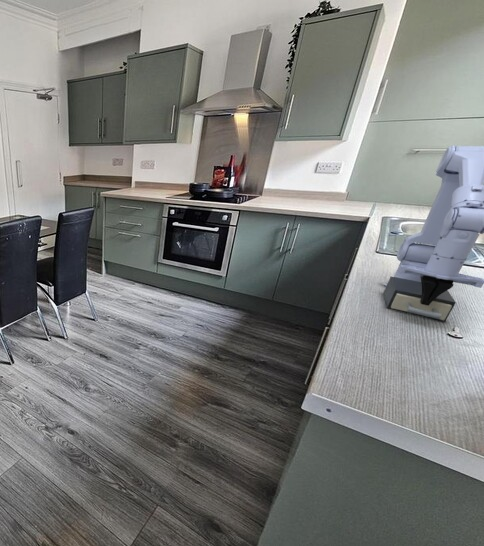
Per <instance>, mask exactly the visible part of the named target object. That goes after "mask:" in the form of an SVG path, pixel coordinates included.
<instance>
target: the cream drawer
mask: <svg viewBox="0 0 484 546" xmlns="http://www.w3.org/2000/svg"><path fill="white" fill-rule="evenodd" d="M420 300H421V298H419V297H414V296H410V295H405V294H400V293H397V294H396V296H395V299H394V301H393V303H392V305H391V308H393V309H398V310H402V311H406V312H410V313H415V314H419V315H423V316H428V317H432V318H436V319H440V320H445V318H446V316H447V315H448V313H449V311H450V309H451V307H452V306H451V305H450V304H445V303H443V302H438V301H432V302H431V303H430V305H429V306H427V305H423V304H421V303H420Z"/></svg>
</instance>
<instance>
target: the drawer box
mask: <svg viewBox="0 0 484 546" xmlns="http://www.w3.org/2000/svg"><path fill="white" fill-rule="evenodd" d="M387 283H388V284H387V286H385V288H384V289H383V293H382V295H383V299H384V302H385V303H384V304H385V307H386V309H387V310H392V311H396V312H400V313H404V314H408V315H413V316H415V317H416V316H417V317H420V318H425V319H429V320H433V321H438V322H441V323H442V322H443V323H446V321H447V319H448V318H449V316H450V314H451V312H452V310H453V309H454V307H455V305H456V303H457V302H456V300H455V298H454V297H453V296H452V295H451V293H450V292H449V290H447V291H445V292H443V293H442V294H440V295H439V296H438V297H437V298H435V299H434V300H433V301H438V302H443V303H445V304H450V305H451V306H452V307H451V309H450V311H449V313H448V315H447V316H446V318H445V320H440V319H436V318H432V317H428V316H423V315H419V314H415V313H410V312H406V311H402V310H398V309H393V308H391V305H392V303H393V301H394V299H395V296H396V294H397V293H400V294H405V295H410V296H414V297H419V298H421V296H422V284H421V282H418V281H413V280H407V279H402V278H397V277H394V276H390V277H389V279H388V282H387Z"/></svg>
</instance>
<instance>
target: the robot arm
mask: <svg viewBox="0 0 484 546" xmlns="http://www.w3.org/2000/svg"><path fill="white" fill-rule="evenodd" d="M435 172H436V173H435V176H436V177H439V178H440V179H441V182H440V187H439V189H438V191H437V194H436V196H435V198H434V201H433V202H432V205H431V208H430V210H429V212H428V214H427V217H426V219H425V221H424V223H423V226H422V228H421V230H420V232H417V233H415V234H412V235H411V234H410V235H408V236H406V237H405V238H404V239H403V242H402V243H401V245H400V246H399V248H398V250H397V254H396V259H397V261H399V264H398V267H397V269H396V271H395V273H394V275H393V277H397V278H402V279H407V280H413V281H418V282H421V284H422V296H421V300H420V303H421V304H423V305H427V306H429V305H430V303H431V302H432V301H433V300H434V299H435V298H437V297H438V296H439V295H440V294H442V293H443V292H445V291H447V290H448V291H449V290H450V289H452V288H453V287H454V283H455V284H456V283H457V284H462V285H468V286H473V287H475V288H479V289H482V287H483V285H484V278H483V277H477V276H472V275H468V274H463V273H460V272H461V270H462V268H463V266H464V264H465V262H466V260H467V259H468V257H469V255H470V253H471V252H472V249H473V248H474V245H475V244H476V242H477V240H478V239H479V237H480V234H481V235H483V234H484V146H483V145H454V144H453V145H450V146H449V147H447V148H446V150H445V151H444V153H443V155H442V157H441V159H440V162H439V163H438V166H437V169H436V170H435ZM387 284H388V282H382V285H383V286H385V287H386V286H387Z"/></svg>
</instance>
